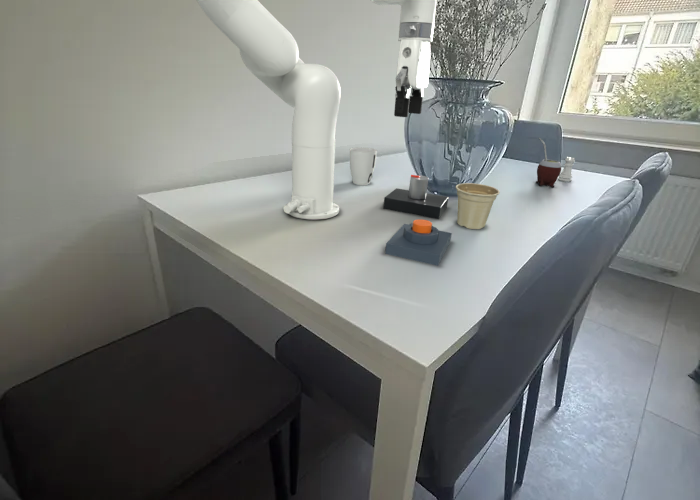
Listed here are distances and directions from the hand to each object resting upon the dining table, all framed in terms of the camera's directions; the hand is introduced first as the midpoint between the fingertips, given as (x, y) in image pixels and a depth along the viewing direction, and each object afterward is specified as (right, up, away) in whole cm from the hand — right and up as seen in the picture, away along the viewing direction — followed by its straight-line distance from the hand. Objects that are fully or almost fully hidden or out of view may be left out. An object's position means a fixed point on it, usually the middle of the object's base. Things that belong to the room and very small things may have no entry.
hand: (408, 115), depth 94 cm
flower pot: (+14, -27, -4) cm, 30 cm away
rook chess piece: (+62, -8, +44) cm, 76 cm away
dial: (+3, -19, +4) cm, 20 cm away
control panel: (+3, -22, +5) cm, 23 cm away
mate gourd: (+50, -11, +36) cm, 63 cm away
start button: (0, -29, -19) cm, 35 cm away
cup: (-11, -12, +25) cm, 30 cm away
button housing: (0, -32, -17) cm, 37 cm away
